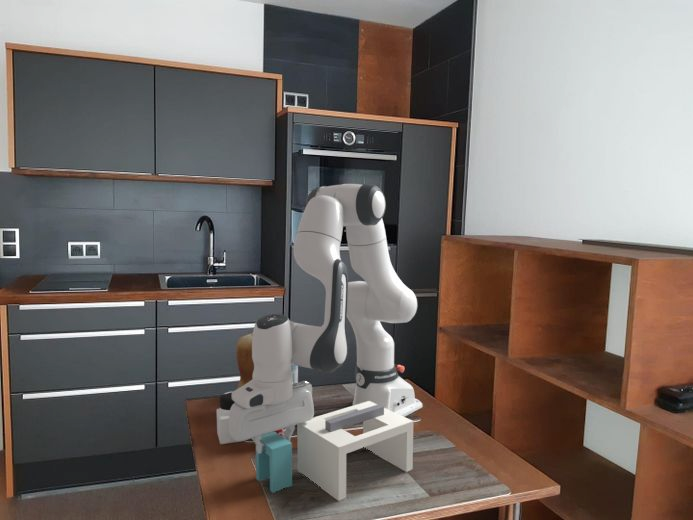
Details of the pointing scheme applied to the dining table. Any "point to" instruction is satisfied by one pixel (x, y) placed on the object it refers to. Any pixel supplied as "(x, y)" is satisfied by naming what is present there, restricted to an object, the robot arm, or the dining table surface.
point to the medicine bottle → (224, 418)
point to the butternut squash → (245, 359)
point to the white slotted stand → (351, 443)
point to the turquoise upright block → (275, 461)
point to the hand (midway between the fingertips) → (273, 448)
